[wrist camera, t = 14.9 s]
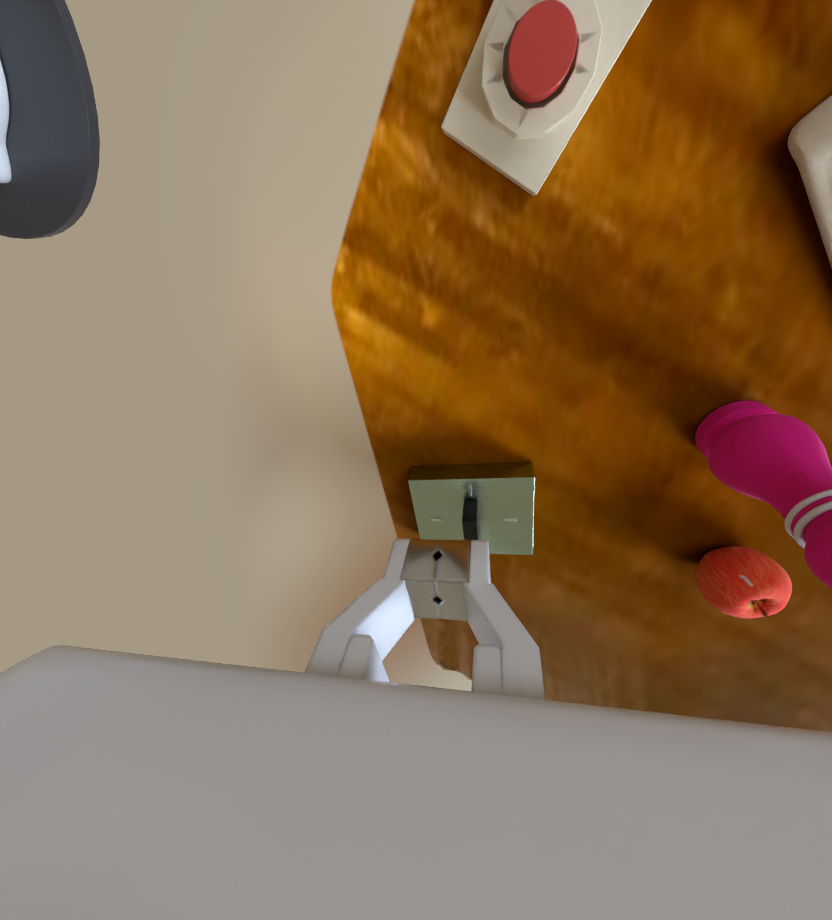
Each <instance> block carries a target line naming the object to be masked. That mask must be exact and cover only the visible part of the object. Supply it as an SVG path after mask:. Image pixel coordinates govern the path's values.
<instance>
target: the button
mask: <svg viewBox="0 0 832 920" xmlns="http://www.w3.org/2000/svg"><path fill="white" fill-rule="evenodd" d="M576 46H577V28H576V23H575V20H574V17H573V15H572V13H571V11H570V10H569V8H568V7H567V6H566V5H565V4H563V3H562V2H560V1H557V0H544V1H541V2H539V3H537V4H535V5H534V6H532V7H531V8H530V9H529V10H528V11H527V12H526V13H525V14H524V15H523V17H522V18H521V19H520V21H519V23H518V24H517V26H516V28H515V30H514V33H513V35H512V39H511V42H510V47H509V54H508V63H507V74H508V80H509V84H510V87H511V89H512V91H513V92H514V94H515V95H516V96H517V97H518V98H519V99H520V100H522V101H524V102H526V103H538V102H541V101H543V100H545V99H547V98H548V97H550V96H551V95H552V94H553V93H554V92H555V91H556V90H557V89H558V88H559V86H560V85H561V83H562V82H563V80H564V78H565V76H566V74H567V72H568V71H569V68H570V66H571V64H572V62H573V59H574V55H575V51H576Z"/></svg>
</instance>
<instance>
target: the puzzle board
mask: <svg viewBox="0 0 832 920" xmlns="http://www.w3.org/2000/svg"><path fill="white" fill-rule="evenodd" d="M788 148H789V151H790V153H791V155H792V157H793V159H794V160H795V162H796V164H797V166H798V168H799V171H800V174H801V177H802V180H803V183H804V186H805V189H806V192H807V195H808V198H809V201H810V204H811V208H812V210H813V213H814V216H815V219H816V222H817V225H818V228H819V231H820V234H821V237H822V240H823V243H824V247H825V250H826V253H827V256H828V259H829V262H830V265H831V268H832V95H831V96H830V97H828V98H827V99H826V100H825V101H823V102H822V103H821V104H820V105H818V106H817V107H816V108H815V109H813V110H812V111H811V112H809V113H808V114H807V115H806V116H804V117H803V118H802V119H801V120H800V121H799V122H798V123H797V124H796V125H795V126H794V128H793V129H792V131H791V132H790V135H789V138H788Z"/></svg>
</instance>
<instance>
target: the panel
mask: <svg viewBox="0 0 832 920" xmlns="http://www.w3.org/2000/svg"><path fill="white" fill-rule="evenodd" d="M408 483H409V488H410V493H411V498H412V502H413V507H414V512H415V517H416V521H417V526H418V531H419V536H420V539H429V540H464V535H463V527H462V515H463V504H464V501H472V500H477V501H478V510H479V522H480V534H481V540H488V543H489V554H521V555H533V524H534V487H535V476H534V470H533V464H532V462H518V463H489V464H459V465H430V466H412V469H411V473H410V476H409V479H408Z"/></svg>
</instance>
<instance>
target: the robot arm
mask: <svg viewBox="0 0 832 920" xmlns="http://www.w3.org/2000/svg"><path fill="white" fill-rule="evenodd" d="M8 122H9V97H8V90H7V84H6V79H5V75H4V71H3V67H2V64H1V61H0V183H8V182H10V180H11V167H10V161H9V156H8V152H7V148H6V134H7V128H8ZM414 618H436V619H449V620H460V621H468V623H469V625H470V627H471V629H472V631H473V633H474V635H475V636H476V638H477V640H478V642H479V644H478V645H477V646H476V647H475V648H474V656H473V674H472V692H470V691H462V690H453V689H444V688H435V687H427V686H418V685H409V684H400V683H391V682H389V679H388V677H387V674H386V672H385V669H384V666H383V664H382V661H383V659H384V658H385V657H386V655H387V654H388V653H389V651H390V650H391V649H392V648H393V646H394V645H395V644H396V643H397V641H398V640H399V639H400V637H401V636H402V635H403V634H404V632H405V631H406V630H407V628H408V627H409V626H410V625H411V623H412V622H413V621H414ZM0 920H832V732H826V731H817V730H808V729H799V728H790V727H782V726H773V725H764V724H755V723H746V722H737V721H728V720H719V719H710V718H702V717H693V716H684V715H675V714H666V713H657V712H648V711H639V710H630V709H621V708H613V707H604V706H595V705H586V704H577V703H568V702H559V701H550V700H545V696H544V687H543V678H542V669H541V660H540V651H539V647H538V646H537V644H536V643H535V642H534V640H533V639H532V637H531V636H530V635H529V633H528V632H527V631H526V629H525V628H524V626H523V625H522V624H521V622H520V621H519V619H518V618H517V617H516V615H515V614H514V613H513V611H512V610H511V608H510V607H509V606H508V604H507V603H506V602H505V600H504V599H503V597H502V596H501V595H500V593H499V592H498V590H497V589H496V588H495V586H494V585H493V584H491V578H490V559H489V543H488V540H429V539H398V538H396V540H395V541H394V542H393V546H392V549H391V553H390V556H389V559H388V562H387V566H386V569H385V572H384V576H383V579H377V581H375V582H374V583H373V584H372V585H371V586H370V587H369V588H368V589H366V590H365V591H364V592H363V593H362V594H361V595H360V596H359V597H358V598H357V599H355V600H354V601H353V602H352V603H351V604H350V605H349V606H348V607H347V608H345V609H344V610H343V611H342V612H341V613H340V614H339V615H338V616H337V617H336V618H334V619H333V620H332V621H331V622H330V623H329V624H328V625H327V626H326V627H325V628H323V629H322V631H321V634H320V636H319V638H318V641H317V643H316V646H315V648H314V651H313V653H312V655H311V658H310V660H309V663H308V665H307V668H306V670H305V672H304V673H302V672H293V671H284V670H275V669H266V668H257V667H248V666H239V665H231V664H222V663H213V662H204V661H195V660H186V659H178V658H169V657H160V656H151V655H142V654H133V653H124V652H115V651H107V650H98V649H90V648H81V647H73V646H63V645H60V646H53V647H49V648H46V649H44V650H42V651H40V652H38V653H36V654H34V655H32V656H30V657H28V658H26V659H25V660H22V661H21V662H19V663H17V664H15V665H13V666H12V667H10V668H8V669H6V670H5V671H3V672H1V673H0Z"/></svg>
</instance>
